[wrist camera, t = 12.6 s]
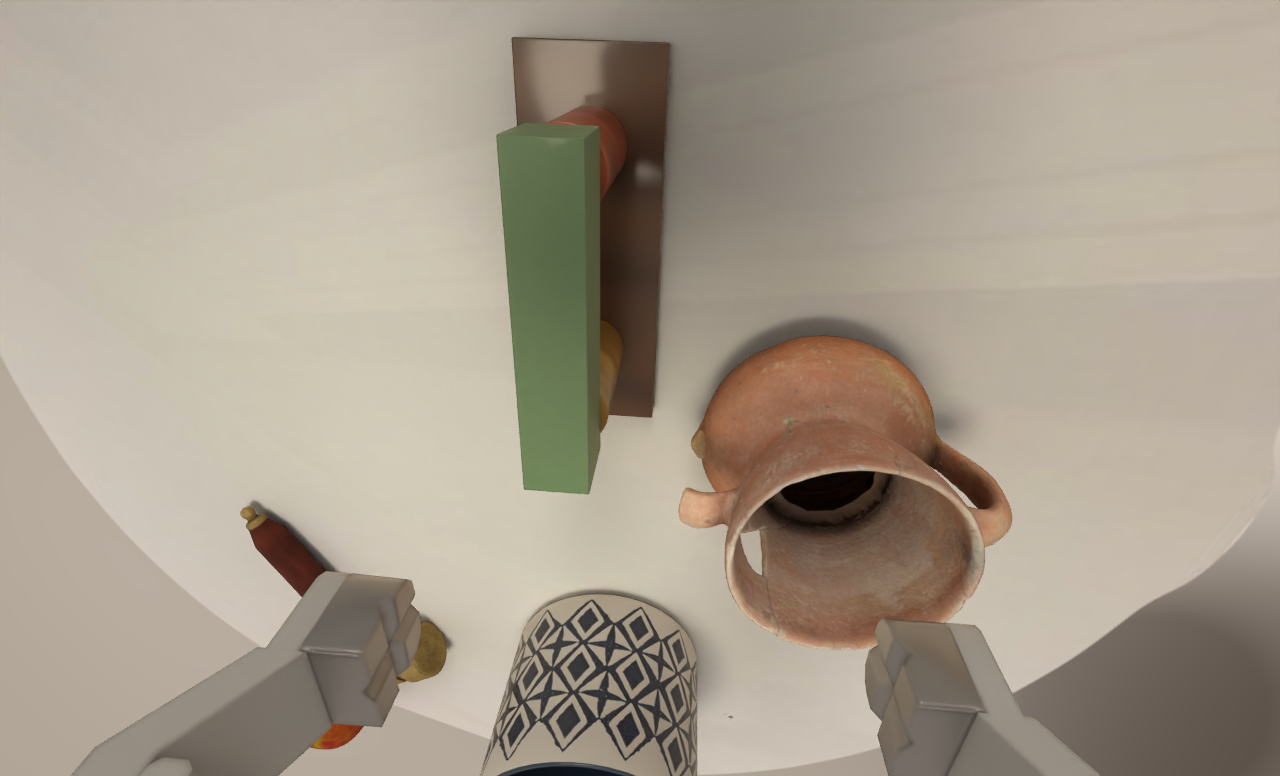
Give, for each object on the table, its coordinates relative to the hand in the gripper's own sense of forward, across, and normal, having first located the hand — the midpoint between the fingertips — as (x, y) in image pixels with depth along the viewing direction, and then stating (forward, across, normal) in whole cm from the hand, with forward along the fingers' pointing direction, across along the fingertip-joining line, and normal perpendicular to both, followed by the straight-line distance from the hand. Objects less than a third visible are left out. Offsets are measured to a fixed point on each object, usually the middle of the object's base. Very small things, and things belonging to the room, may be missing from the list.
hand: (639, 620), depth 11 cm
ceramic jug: (+29, -10, +13) cm, 34 cm away
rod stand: (+29, +5, +2) cm, 30 cm away
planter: (+29, +4, +39) cm, 49 cm away
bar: (+20, +5, +2) cm, 20 cm away
